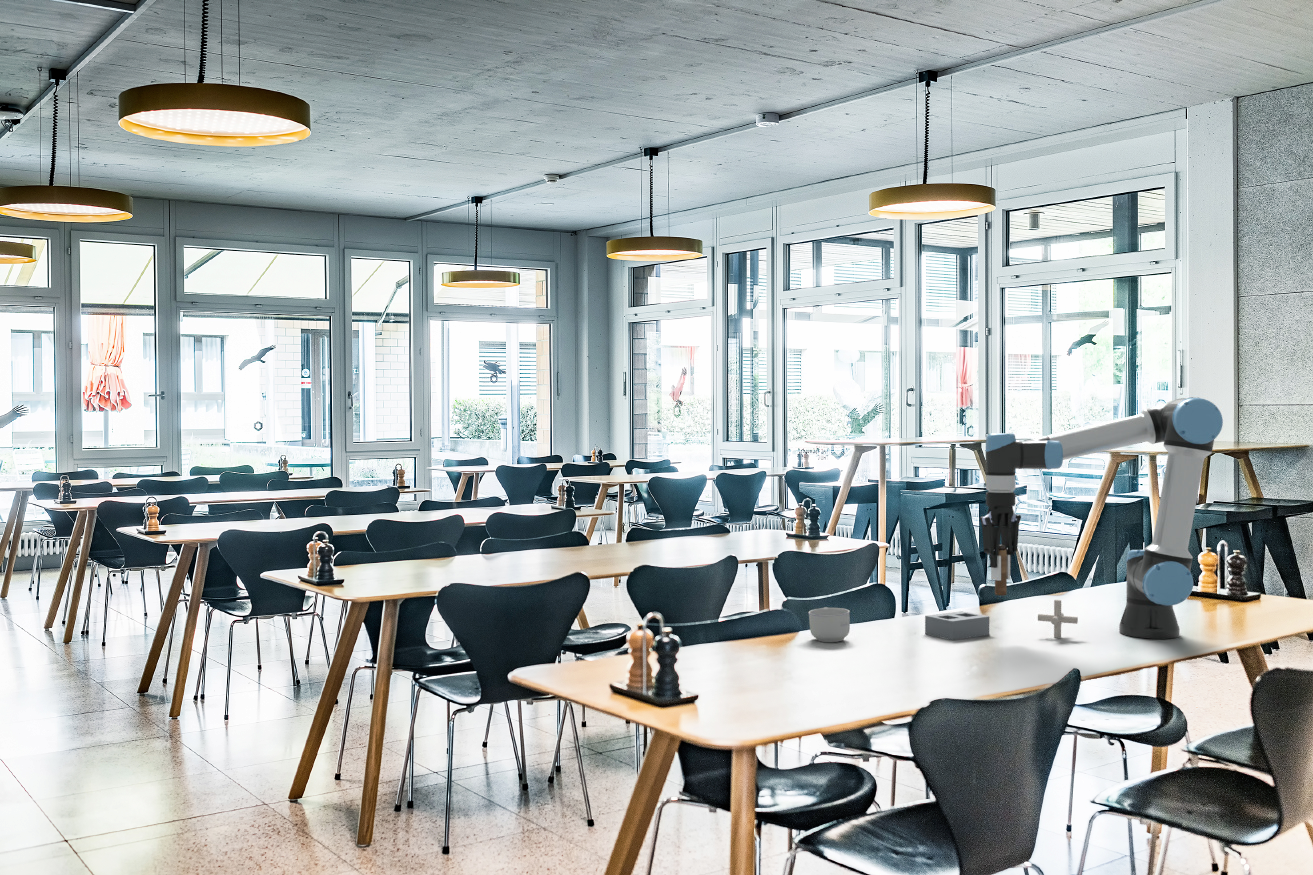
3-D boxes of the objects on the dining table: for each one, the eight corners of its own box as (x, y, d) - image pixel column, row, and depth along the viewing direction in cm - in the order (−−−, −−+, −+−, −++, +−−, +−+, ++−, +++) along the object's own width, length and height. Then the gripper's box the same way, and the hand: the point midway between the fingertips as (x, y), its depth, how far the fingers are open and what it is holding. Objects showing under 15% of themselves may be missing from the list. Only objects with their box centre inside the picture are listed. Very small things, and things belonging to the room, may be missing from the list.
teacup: (848, 645, 303) (849, 614, 303) (806, 643, 306) (807, 612, 306) (850, 635, 317) (851, 605, 317) (810, 633, 319) (810, 604, 319)
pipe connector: (1034, 638, 312) (1035, 601, 312) (1041, 632, 321) (1041, 596, 321) (1074, 642, 307) (1074, 604, 307) (1079, 635, 316) (1080, 598, 316)
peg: (1009, 594, 311) (1008, 545, 311) (1001, 595, 309) (1001, 545, 309) (1000, 593, 314) (1000, 544, 313) (992, 594, 312) (992, 544, 312)
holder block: (989, 634, 317) (989, 616, 317) (952, 639, 310) (952, 621, 310) (961, 629, 326) (961, 611, 326) (925, 633, 319) (925, 615, 319)
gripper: (1010, 489, 318) (1010, 575, 319) (968, 491, 310) (968, 579, 310) (1032, 490, 312) (1032, 578, 312) (990, 493, 304) (990, 583, 304)
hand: (1000, 579), depth 311 cm, fingers closed on peg, 3 cm apart
